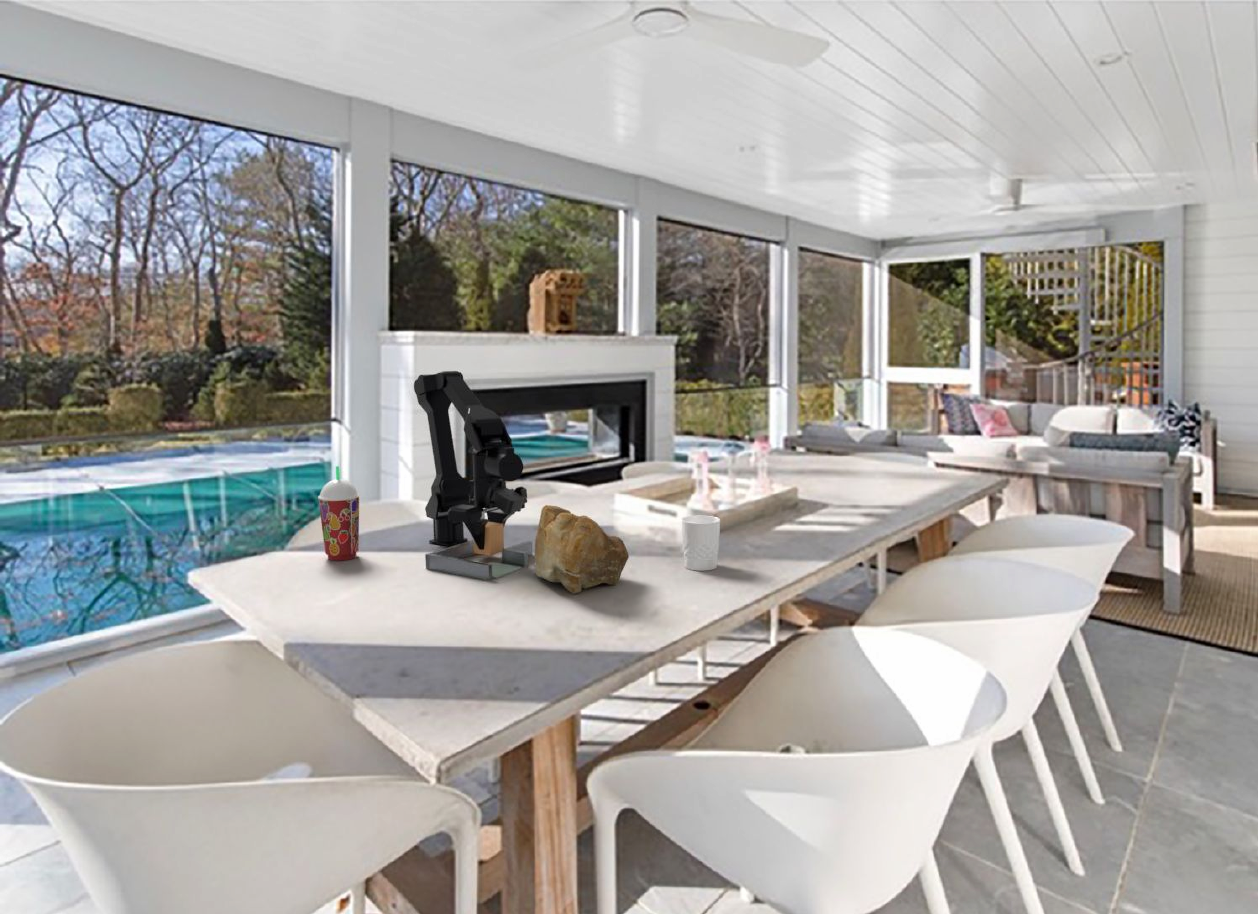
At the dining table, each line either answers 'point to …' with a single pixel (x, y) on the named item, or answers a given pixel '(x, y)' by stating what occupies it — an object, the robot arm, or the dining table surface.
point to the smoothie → (340, 518)
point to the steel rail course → (454, 564)
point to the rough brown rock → (576, 551)
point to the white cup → (700, 542)
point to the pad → (502, 569)
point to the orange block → (492, 539)
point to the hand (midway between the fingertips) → (488, 547)
